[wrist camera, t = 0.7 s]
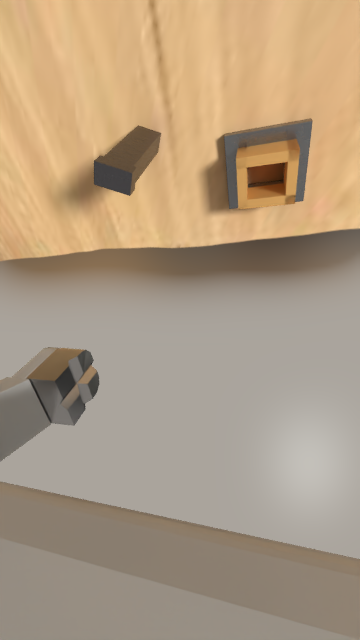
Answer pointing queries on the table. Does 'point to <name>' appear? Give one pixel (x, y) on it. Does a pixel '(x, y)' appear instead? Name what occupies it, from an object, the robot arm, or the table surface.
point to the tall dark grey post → (127, 161)
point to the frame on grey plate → (268, 149)
